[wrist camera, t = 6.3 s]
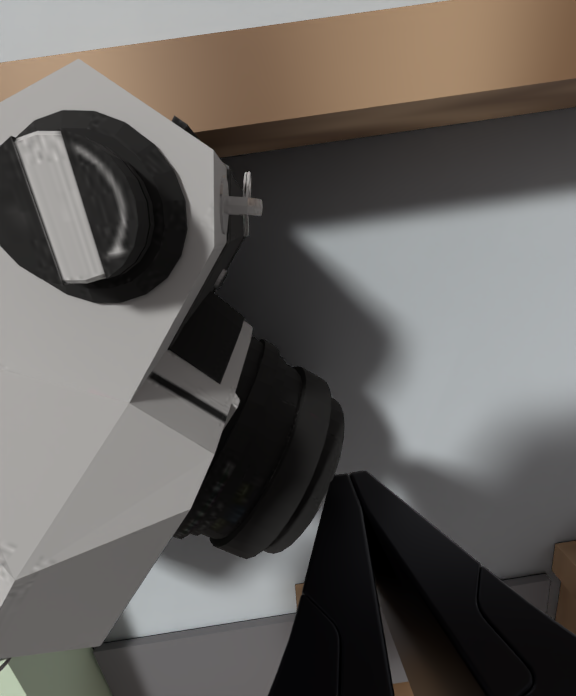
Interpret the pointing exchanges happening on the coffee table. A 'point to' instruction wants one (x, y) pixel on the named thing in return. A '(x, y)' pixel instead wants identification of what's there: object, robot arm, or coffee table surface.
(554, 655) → the robot arm
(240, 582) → the coffee table surface
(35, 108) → the camera
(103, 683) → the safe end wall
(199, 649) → the mats
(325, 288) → the coffee table surface
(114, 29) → the coffee table surface
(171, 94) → the trap box
